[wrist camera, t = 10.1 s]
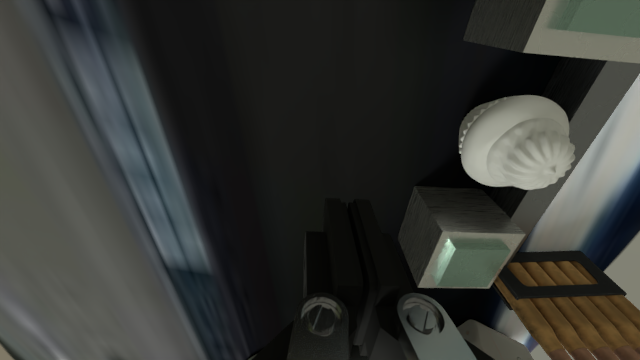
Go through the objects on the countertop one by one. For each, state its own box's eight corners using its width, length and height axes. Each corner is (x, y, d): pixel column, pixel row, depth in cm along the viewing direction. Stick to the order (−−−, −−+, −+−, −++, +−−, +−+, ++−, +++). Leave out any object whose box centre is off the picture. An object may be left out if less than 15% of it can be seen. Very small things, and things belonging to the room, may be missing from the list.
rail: (487, 243, 27) (529, 299, 22) (396, 241, 26) (418, 298, 21) (678, -83, 14) (891, -133, 9) (511, -107, 13) (640, -179, 8)
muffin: (451, 173, 22) (504, 232, 16) (428, 111, 19) (484, 156, 13) (530, 136, 21) (619, 188, 15) (518, 63, 18) (625, 90, 12)
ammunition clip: (581, 250, 28) (733, 384, 18) (571, 262, 29) (711, 395, 19) (482, 253, 28) (584, 393, 18) (476, 265, 29) (569, 404, 19)
